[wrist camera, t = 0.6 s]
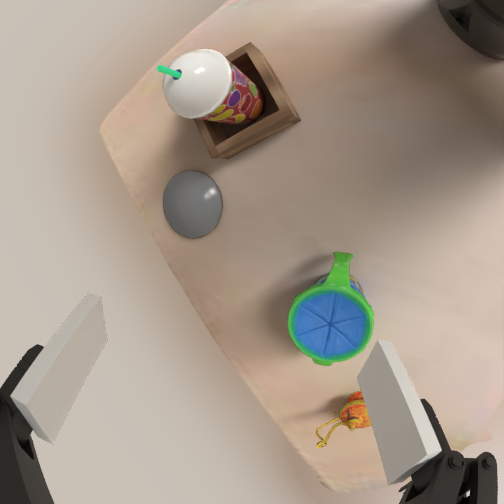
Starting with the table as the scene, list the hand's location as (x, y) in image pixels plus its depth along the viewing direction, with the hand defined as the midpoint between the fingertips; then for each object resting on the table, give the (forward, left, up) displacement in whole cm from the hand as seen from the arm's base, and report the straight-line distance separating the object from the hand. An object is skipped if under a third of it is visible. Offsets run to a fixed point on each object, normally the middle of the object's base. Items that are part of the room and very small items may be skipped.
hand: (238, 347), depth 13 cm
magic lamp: (+27, +18, -30) cm, 45 cm away
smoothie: (-15, -15, -30) cm, 37 cm away
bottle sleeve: (-15, -15, -30) cm, 37 cm away
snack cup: (+9, +5, -30) cm, 32 cm away
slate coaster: (+2, -21, -30) cm, 37 cm away
